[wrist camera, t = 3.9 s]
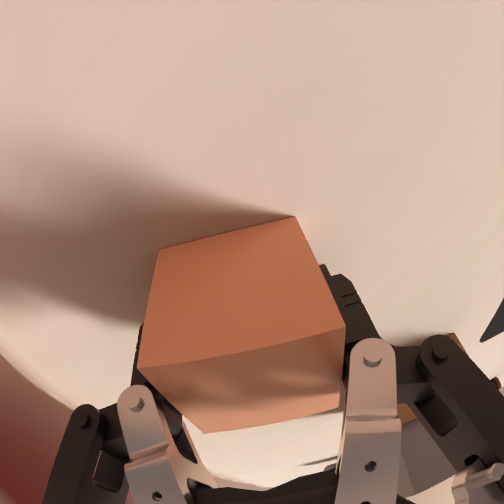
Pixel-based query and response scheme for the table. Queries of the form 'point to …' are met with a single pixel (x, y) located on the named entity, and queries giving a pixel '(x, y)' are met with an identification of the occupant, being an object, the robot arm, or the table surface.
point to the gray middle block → (420, 461)
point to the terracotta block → (243, 329)
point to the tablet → (495, 324)
